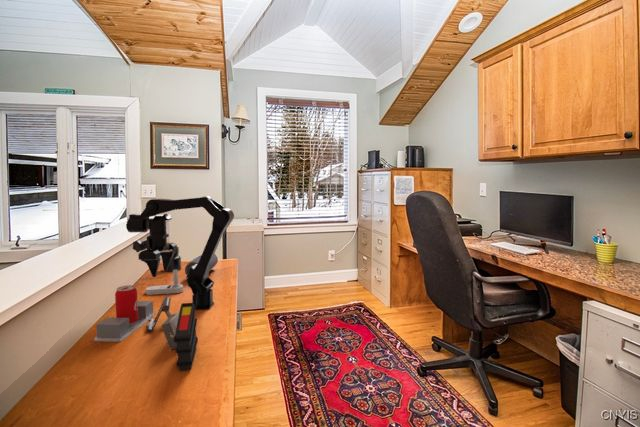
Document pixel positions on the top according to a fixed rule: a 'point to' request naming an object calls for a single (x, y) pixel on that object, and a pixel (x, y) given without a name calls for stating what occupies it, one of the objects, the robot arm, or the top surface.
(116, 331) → the mounted modules
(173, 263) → the ink bottle
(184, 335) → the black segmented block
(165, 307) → the portable electronic device stand
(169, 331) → the electrical switch
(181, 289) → the electronic device
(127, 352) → the top surface
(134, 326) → the rail
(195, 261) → the bluetooth speaker
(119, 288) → the beverage can
